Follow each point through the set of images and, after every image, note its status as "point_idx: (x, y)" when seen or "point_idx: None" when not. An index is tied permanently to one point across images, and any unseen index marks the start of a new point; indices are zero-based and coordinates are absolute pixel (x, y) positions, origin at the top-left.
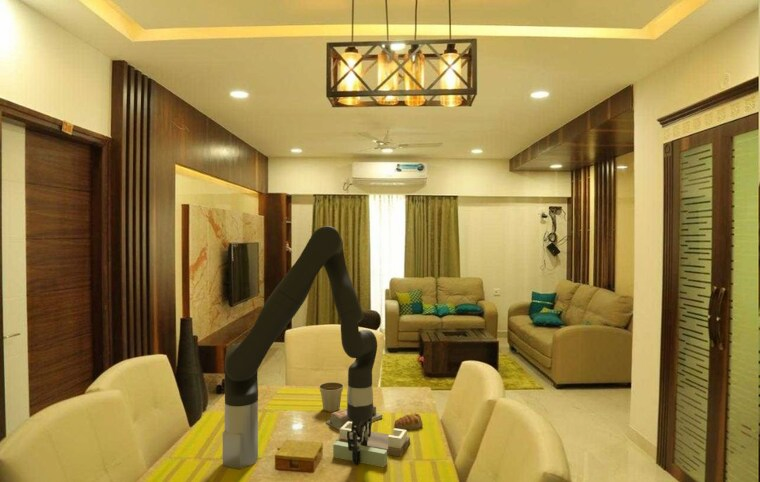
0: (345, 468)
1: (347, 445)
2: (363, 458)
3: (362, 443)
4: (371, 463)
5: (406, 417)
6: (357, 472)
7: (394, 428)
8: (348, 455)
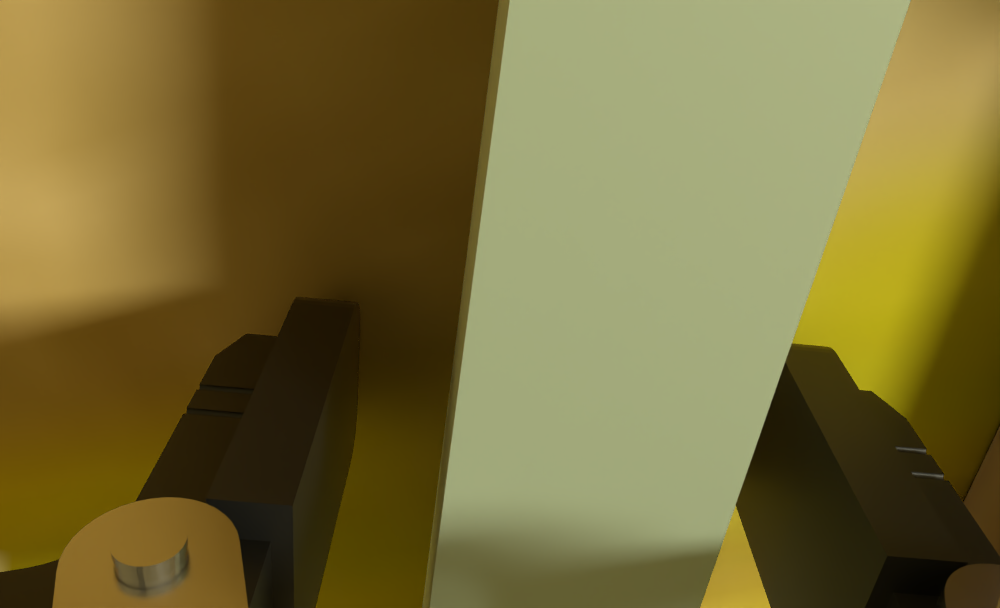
0: (54, 177)
1: (604, 199)
2: (434, 526)
3: (844, 603)
4: (422, 605)
5: None
6: (30, 449)
7: None
8: (480, 161)
